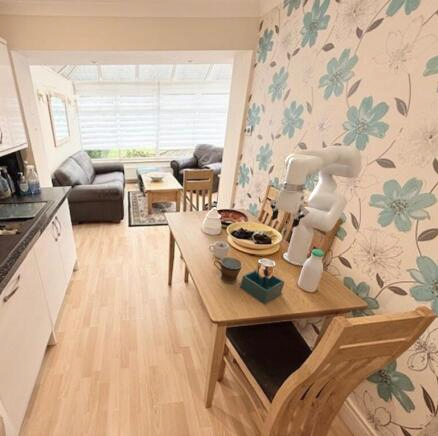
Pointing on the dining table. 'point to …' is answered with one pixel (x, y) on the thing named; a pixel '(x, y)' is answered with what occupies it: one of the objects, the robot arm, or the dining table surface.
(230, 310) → the dining table surface
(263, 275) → the beer glass
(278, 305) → the dining table surface
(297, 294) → the dining table surface
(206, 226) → the honey pot
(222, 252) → the cup
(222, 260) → the ceramic cup
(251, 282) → the tub
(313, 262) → the milk bottle
